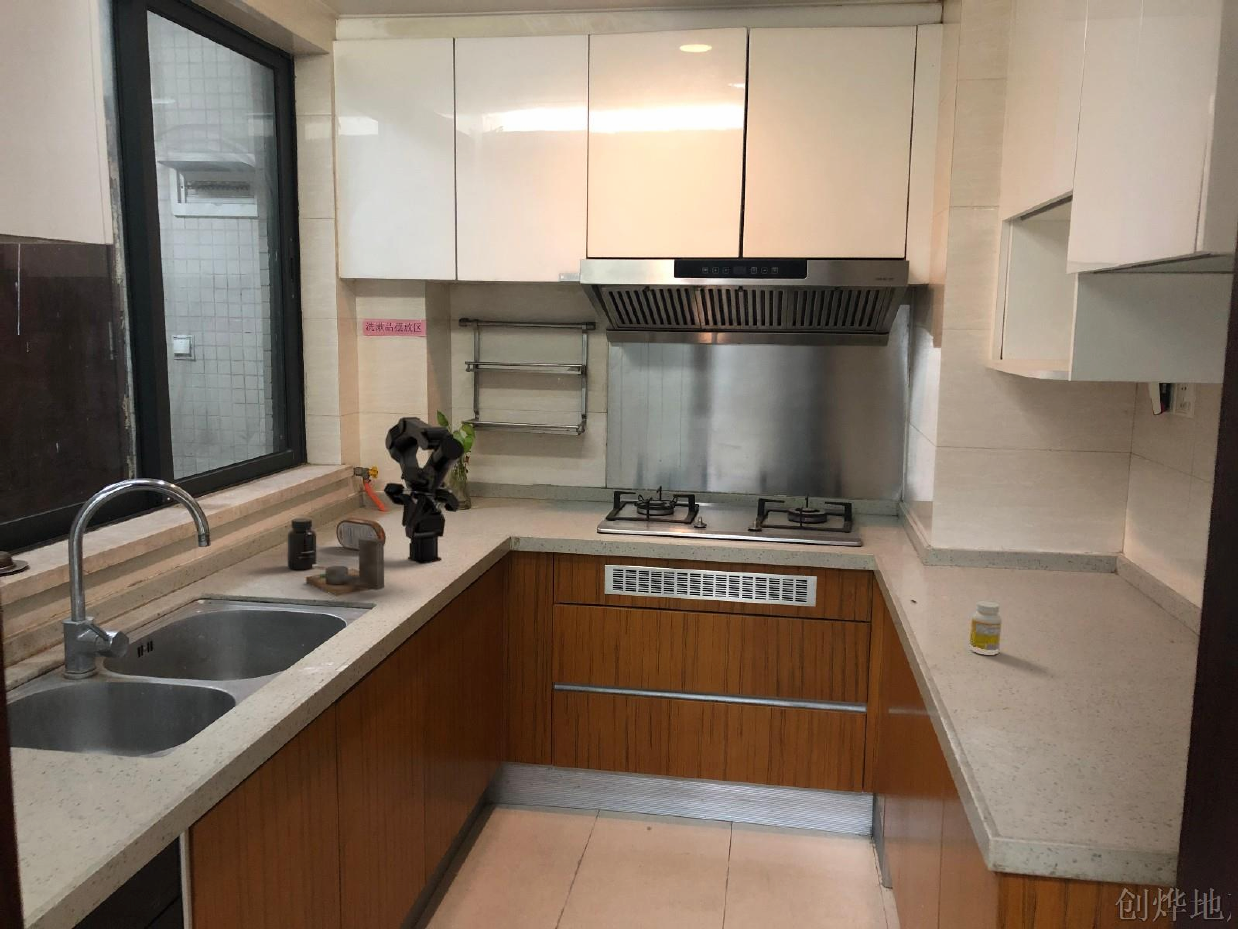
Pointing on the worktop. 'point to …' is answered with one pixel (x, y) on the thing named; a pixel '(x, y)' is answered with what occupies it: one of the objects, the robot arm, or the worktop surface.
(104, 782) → the worktop surface
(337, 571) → the upright block on board
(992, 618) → the supplement bottle
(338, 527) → the tin
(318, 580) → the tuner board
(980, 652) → the worktop surface
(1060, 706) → the worktop surface
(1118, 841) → the worktop surface
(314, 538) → the supplement bottle
